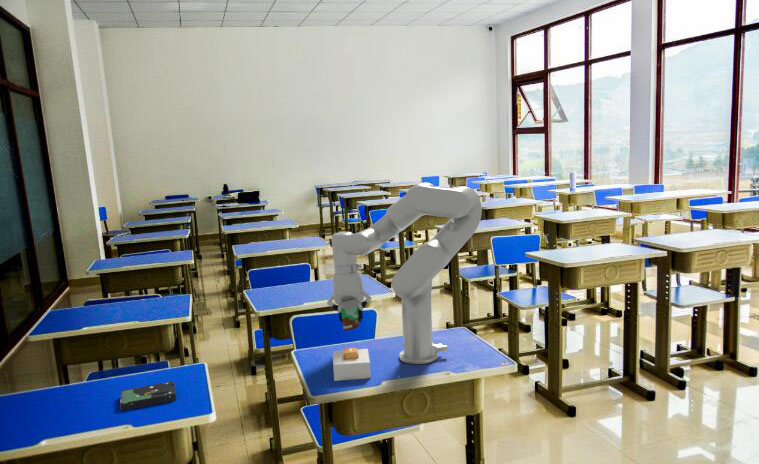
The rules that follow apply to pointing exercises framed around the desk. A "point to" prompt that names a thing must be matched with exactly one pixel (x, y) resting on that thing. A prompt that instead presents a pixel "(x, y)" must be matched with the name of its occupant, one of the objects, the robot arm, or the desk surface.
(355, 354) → the orange small block
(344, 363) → the switch box
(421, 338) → the robot arm
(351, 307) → the food container
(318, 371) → the desk surface
